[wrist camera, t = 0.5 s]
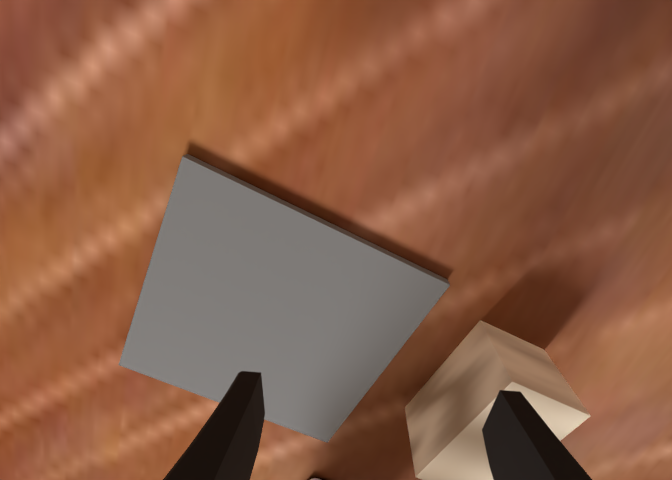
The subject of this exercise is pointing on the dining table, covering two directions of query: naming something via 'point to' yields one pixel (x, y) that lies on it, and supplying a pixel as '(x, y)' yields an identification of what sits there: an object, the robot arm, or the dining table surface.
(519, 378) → the pale wooden block
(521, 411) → the robot arm
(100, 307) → the dining table surface
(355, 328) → the rubber mat
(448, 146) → the dining table surface
